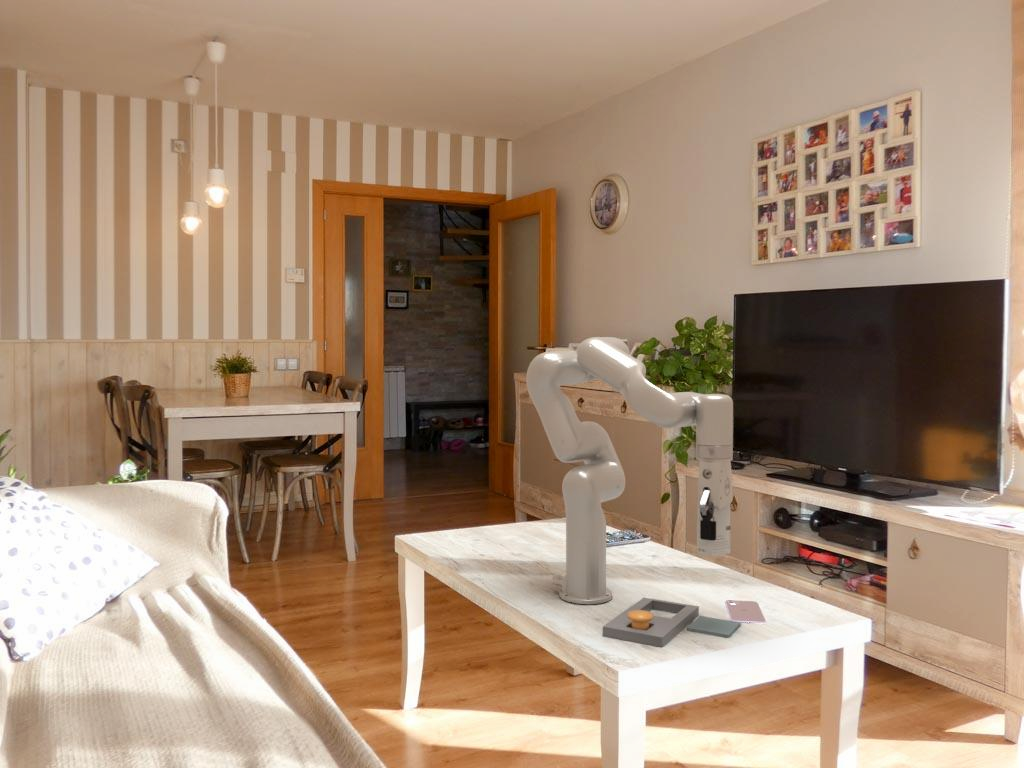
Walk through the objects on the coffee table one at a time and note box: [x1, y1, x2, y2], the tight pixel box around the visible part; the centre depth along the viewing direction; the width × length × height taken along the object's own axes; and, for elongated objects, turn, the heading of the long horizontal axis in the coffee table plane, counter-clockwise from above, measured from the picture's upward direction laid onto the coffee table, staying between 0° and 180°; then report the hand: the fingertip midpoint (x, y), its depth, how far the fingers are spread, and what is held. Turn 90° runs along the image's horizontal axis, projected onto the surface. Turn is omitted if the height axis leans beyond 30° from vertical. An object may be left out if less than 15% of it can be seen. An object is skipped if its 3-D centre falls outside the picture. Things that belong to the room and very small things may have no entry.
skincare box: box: [696, 496, 731, 557], centre depth 181 cm, size 6×4×12 cm
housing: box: [602, 597, 700, 648], centre depth 183 cm, size 13×23×2 cm, turn 150°
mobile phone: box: [724, 599, 767, 624], centre depth 192 cm, size 8×1×15 cm
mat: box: [686, 615, 742, 639], centre depth 182 cm, size 9×9×1 cm
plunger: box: [628, 610, 654, 631], centre depth 177 cm, size 5×5×4 cm
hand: (713, 535), depth 181 cm, fingers closed on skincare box, 7 cm apart
